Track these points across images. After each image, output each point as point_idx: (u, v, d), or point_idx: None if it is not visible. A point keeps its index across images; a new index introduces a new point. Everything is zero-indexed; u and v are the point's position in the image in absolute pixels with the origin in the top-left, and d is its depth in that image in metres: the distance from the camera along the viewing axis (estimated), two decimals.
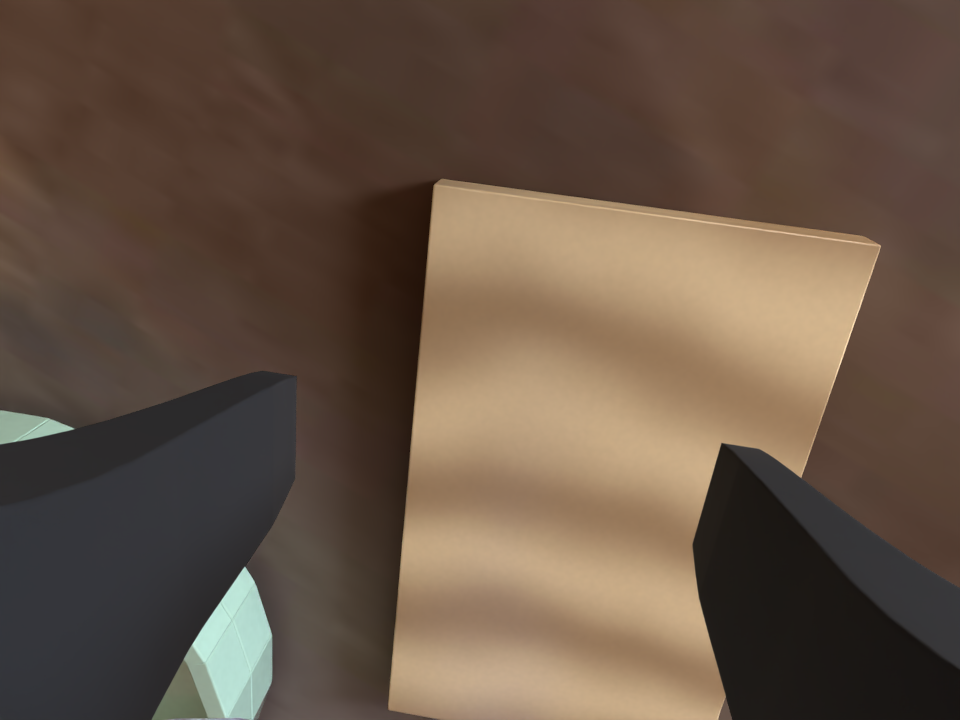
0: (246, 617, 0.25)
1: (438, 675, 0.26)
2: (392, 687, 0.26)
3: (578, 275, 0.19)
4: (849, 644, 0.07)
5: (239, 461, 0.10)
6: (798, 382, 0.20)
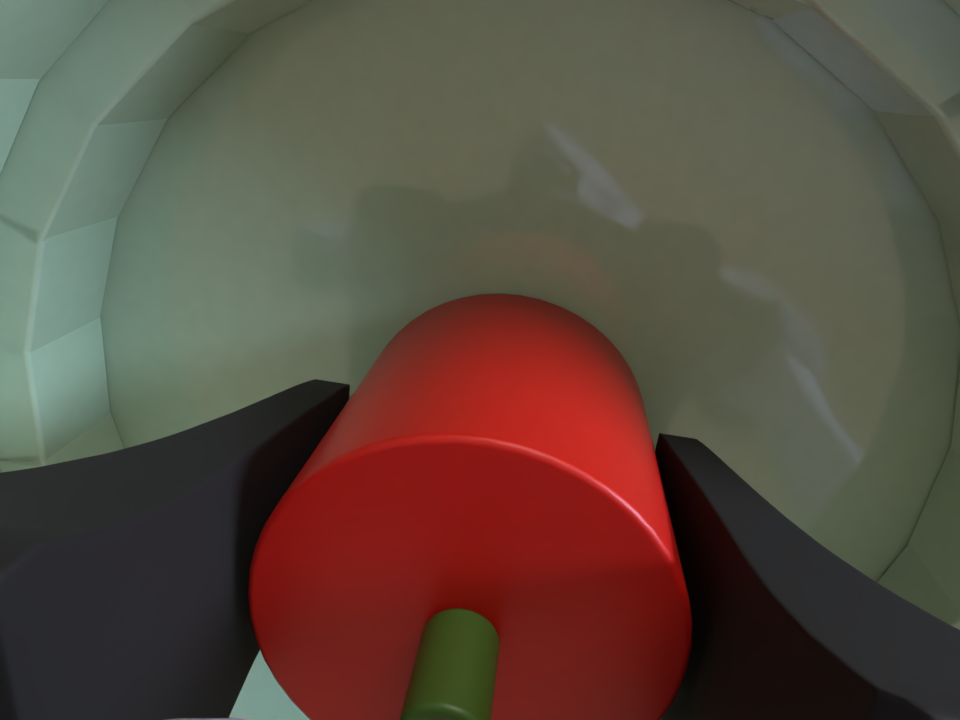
0: None
1: None
2: None
3: None
4: (745, 626, 0.07)
5: None
6: None
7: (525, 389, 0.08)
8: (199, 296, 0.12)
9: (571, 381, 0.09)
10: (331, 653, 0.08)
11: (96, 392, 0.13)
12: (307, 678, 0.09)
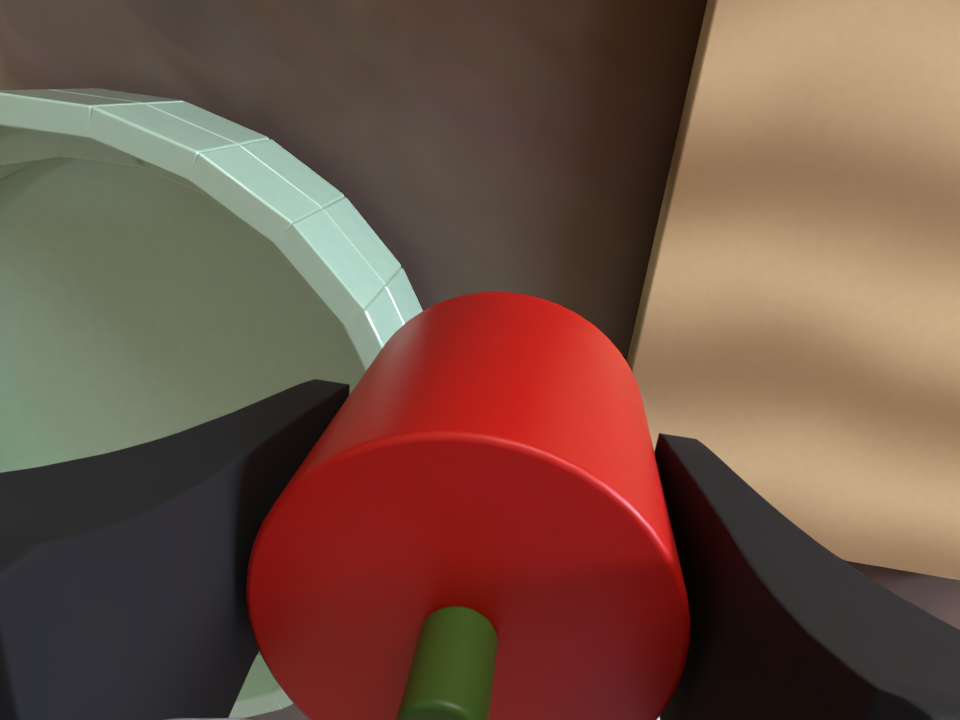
0: None
1: None
2: None
3: None
4: (745, 626, 0.07)
5: None
6: None
7: (523, 386, 0.08)
8: None
9: (570, 380, 0.09)
10: (329, 651, 0.08)
11: None
12: (305, 676, 0.09)
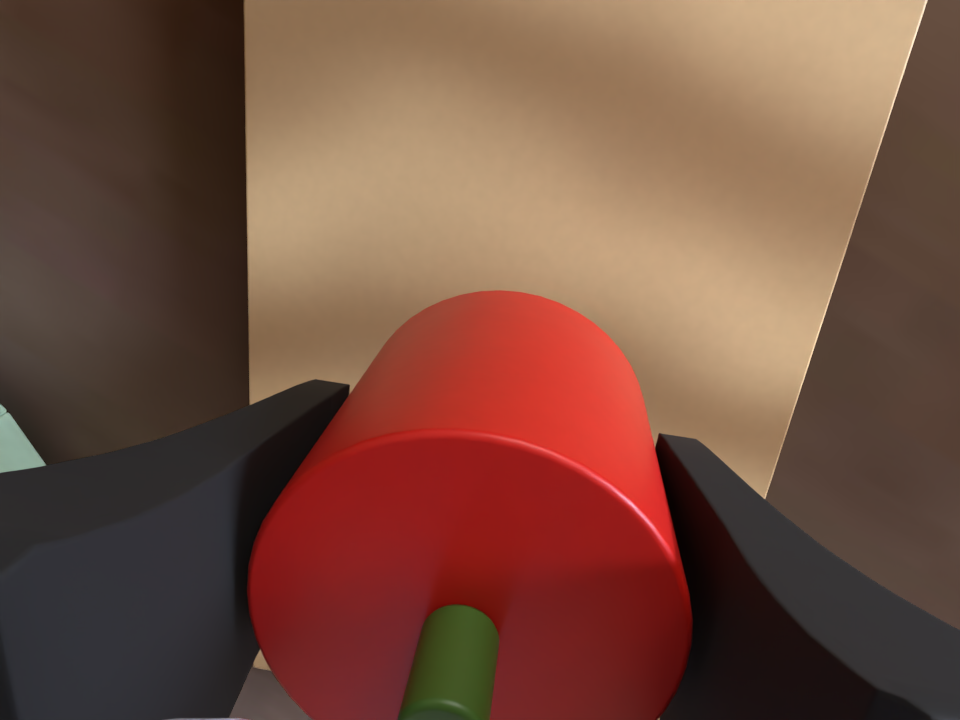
0: None
1: None
2: None
3: None
4: (744, 626, 0.07)
5: None
6: (830, 123, 0.12)
7: (524, 385, 0.08)
8: None
9: (571, 377, 0.09)
10: (331, 650, 0.08)
11: None
12: (306, 675, 0.09)
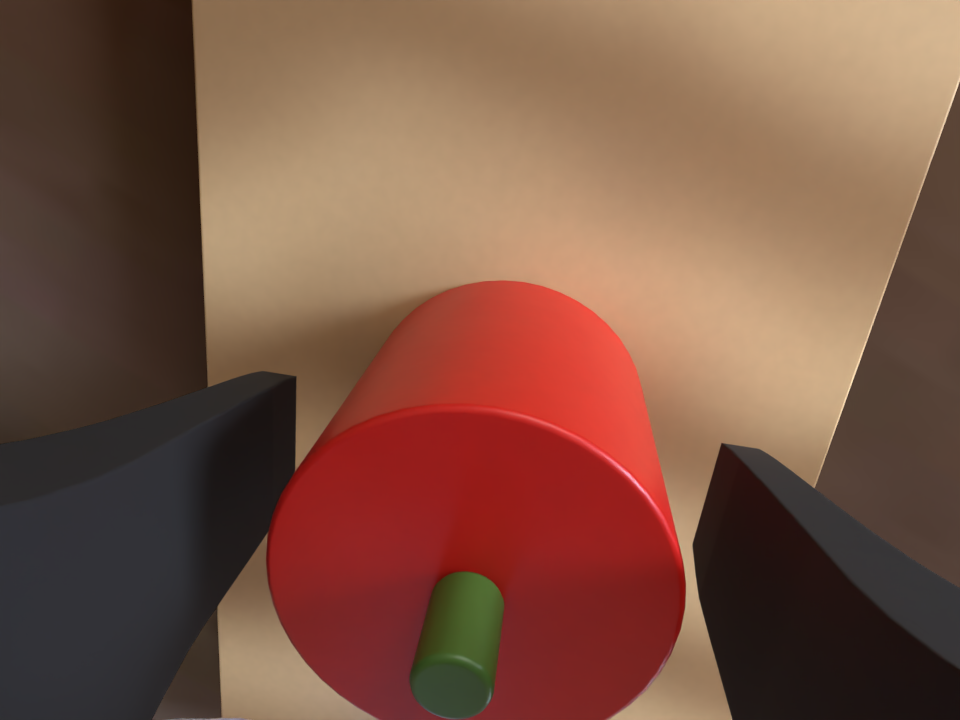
0: None
1: (290, 673, 0.17)
2: (224, 691, 0.17)
3: None
4: (849, 644, 0.07)
5: (240, 461, 0.10)
6: (875, 128, 0.11)
7: (527, 366, 0.09)
8: None
9: (572, 360, 0.09)
10: (344, 616, 0.09)
11: None
12: (321, 640, 0.09)
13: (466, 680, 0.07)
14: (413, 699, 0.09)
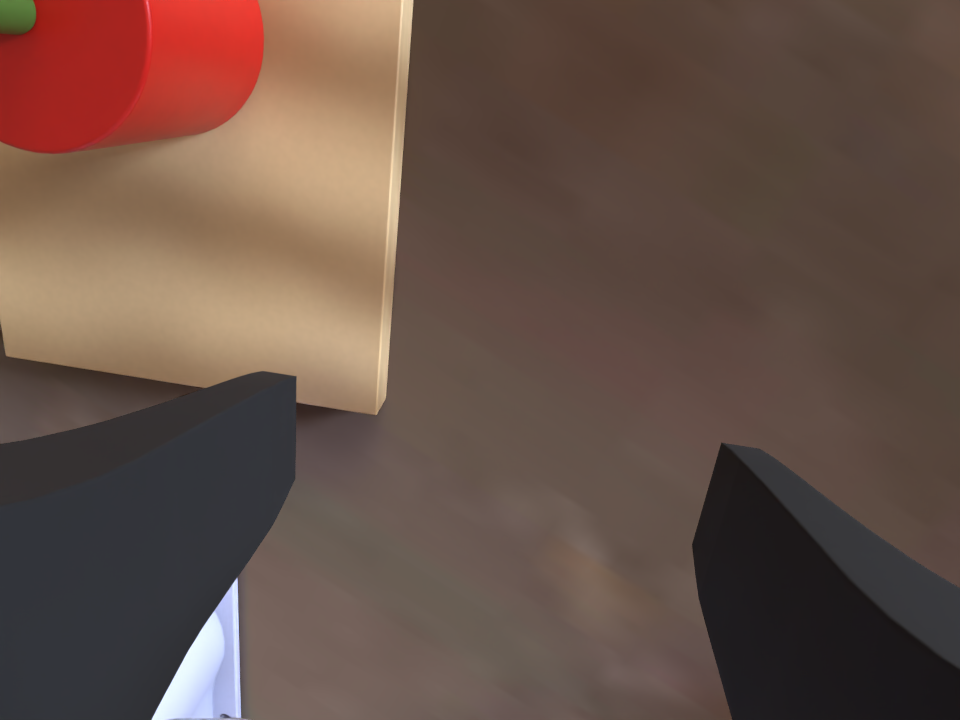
0: None
1: (49, 296, 0.21)
2: (2, 320, 0.21)
3: None
4: (849, 644, 0.07)
5: (239, 461, 0.10)
6: None
7: None
8: None
9: None
10: None
11: None
12: None
13: None
14: (3, 110, 0.13)
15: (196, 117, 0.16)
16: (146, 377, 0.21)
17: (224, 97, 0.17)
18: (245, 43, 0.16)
